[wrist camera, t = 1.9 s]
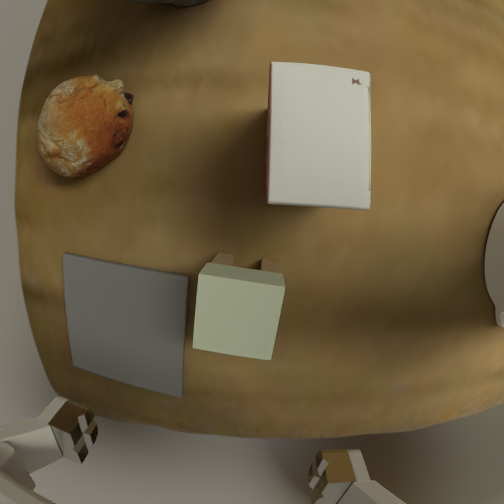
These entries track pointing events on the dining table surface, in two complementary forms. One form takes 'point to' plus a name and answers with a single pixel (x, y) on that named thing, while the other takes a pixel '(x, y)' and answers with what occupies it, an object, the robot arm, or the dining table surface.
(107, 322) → the mat
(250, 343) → the stool
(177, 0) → the grey tall rounded piece
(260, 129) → the dining table surface
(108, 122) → the bread roll
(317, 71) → the small box
